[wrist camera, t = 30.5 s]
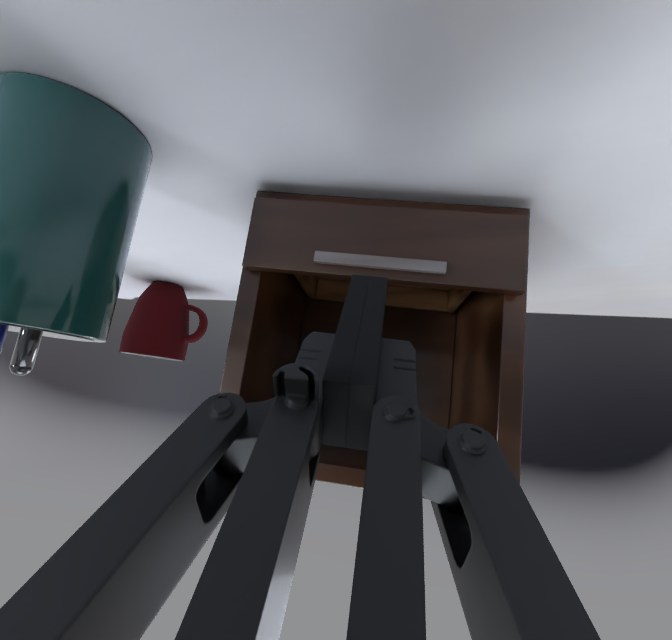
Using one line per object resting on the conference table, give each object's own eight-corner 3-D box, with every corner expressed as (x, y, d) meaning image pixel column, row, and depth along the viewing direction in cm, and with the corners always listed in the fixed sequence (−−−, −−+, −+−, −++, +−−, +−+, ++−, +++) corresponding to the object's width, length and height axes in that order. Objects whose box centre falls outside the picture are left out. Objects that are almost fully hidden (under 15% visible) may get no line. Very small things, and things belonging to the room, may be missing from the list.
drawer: (252, 193, 21) (239, 262, 21) (533, 211, 19) (530, 289, 19) (300, 272, 35) (294, 316, 34) (468, 288, 33) (465, 335, 32)
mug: (193, 278, 47) (176, 358, 45) (225, 296, 54) (211, 364, 53) (122, 274, 49) (103, 349, 47) (162, 291, 57) (147, 357, 55)
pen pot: (-41, 94, 18) (-142, 366, 15) (36, 50, 15) (-75, 384, 12) (103, 176, 24) (47, 380, 21) (180, 158, 21) (124, 395, 18)
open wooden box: (256, 190, 23) (205, 462, 20) (530, 208, 21) (519, 514, 18) (301, 267, 37) (275, 436, 34) (470, 283, 35) (458, 464, 32)
